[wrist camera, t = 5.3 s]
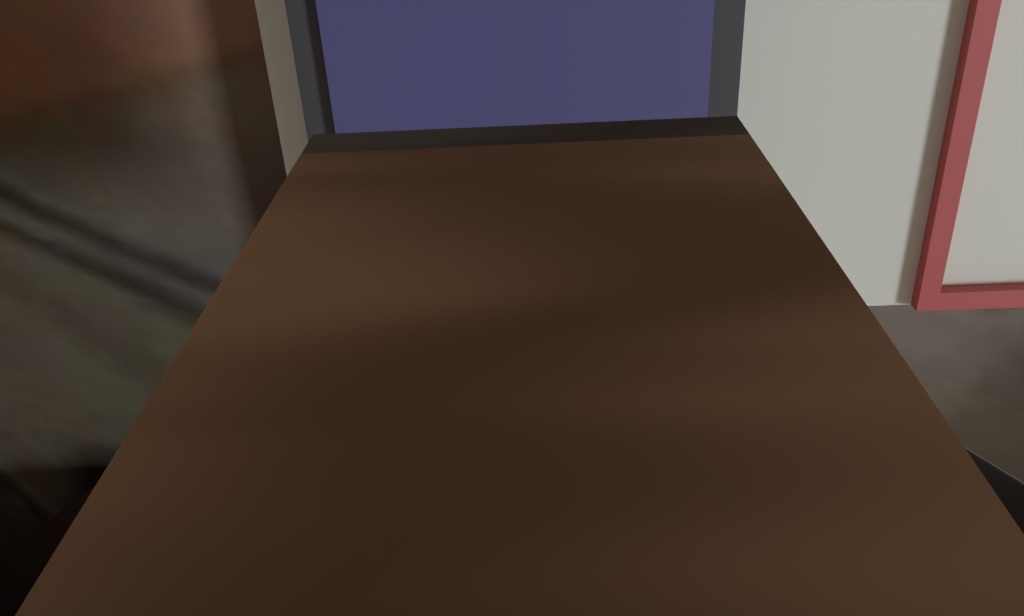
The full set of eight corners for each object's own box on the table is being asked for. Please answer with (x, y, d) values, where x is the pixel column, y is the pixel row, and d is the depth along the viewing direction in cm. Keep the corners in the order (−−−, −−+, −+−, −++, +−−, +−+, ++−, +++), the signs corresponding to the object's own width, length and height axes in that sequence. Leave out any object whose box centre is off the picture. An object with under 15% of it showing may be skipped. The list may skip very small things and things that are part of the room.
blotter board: (1579, -192, 15) (1714, -191, 13) (1365, 266, 19) (1446, 311, 17) (246, -120, 15) (213, -109, 14) (321, 309, 19) (303, 356, 18)
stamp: (737, 116, 9) (1200, 791, 3) (711, 453, 12) (947, 1258, 5) (313, 134, 10) (-110, 818, 3) (366, 464, 12) (182, 1262, 5)
